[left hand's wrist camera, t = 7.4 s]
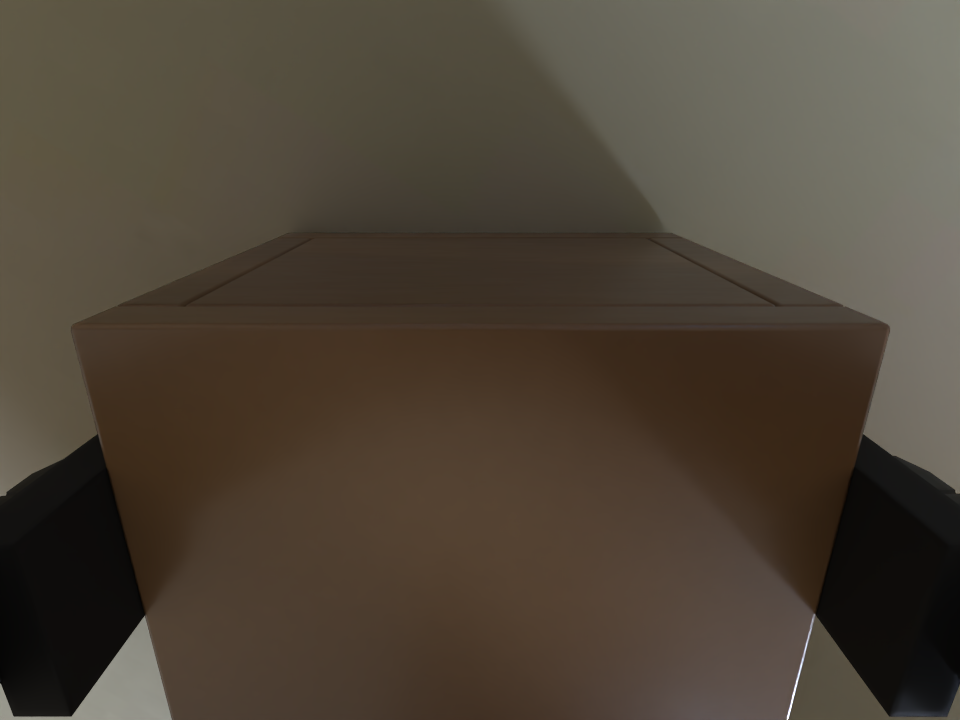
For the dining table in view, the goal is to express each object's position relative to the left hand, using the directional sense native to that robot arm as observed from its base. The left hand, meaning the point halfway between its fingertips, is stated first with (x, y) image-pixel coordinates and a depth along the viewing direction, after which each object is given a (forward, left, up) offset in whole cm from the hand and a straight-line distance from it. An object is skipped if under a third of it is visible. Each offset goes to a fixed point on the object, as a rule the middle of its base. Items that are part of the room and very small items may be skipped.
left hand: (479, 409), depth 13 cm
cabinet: (+4, -4, -4) cm, 7 cm away
